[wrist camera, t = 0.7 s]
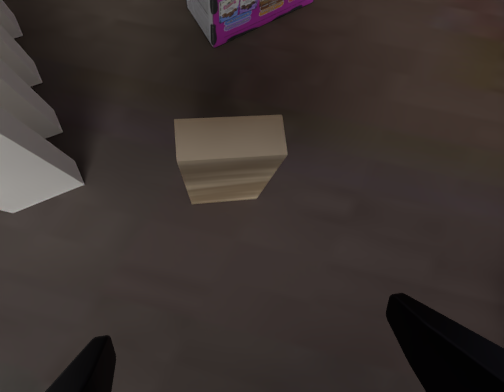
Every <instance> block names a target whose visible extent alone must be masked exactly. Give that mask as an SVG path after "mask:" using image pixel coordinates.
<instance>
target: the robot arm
mask: <svg viewBox="0 0 504 392" xmlns="http://www.w3.org/2000/svg"><path fill="white" fill-rule="evenodd" d="M386 317H387V320H388V322H389V324H390V326H391V328H392V330H393V332H394V334H395V336H396V338H397V340H398V342H399V344H400V346H401V348H402V350H403V352H404V354H405V356H406V358H407V360H408V362H409V364H410V366H411V367H412V369H413V371H414V372H415V374H416V376H417V377H418V379H419V381H420V382H421V384H422V386H423V387H424V389H425V390H426V392H504V348H502V347H500V346H498V345H497V344H495V343H493V342H491V341H489V340H487V339H486V338H484V337H482V336H480V335H478V334H477V333H475V332H473V331H471V330H469V329H468V328H466V327H464V326H462V325H460V324H458V323H457V322H455V321H453V320H451V319H449V318H448V317H446V316H444V315H442V314H440V313H439V312H437V311H435V310H433V309H431V308H429V307H428V306H426V305H424V304H422V303H420V302H419V301H417V300H415V299H413V298H411V297H410V296H408V295H406V294H404V293H397V294H392V295H391V296H390V297H389V301H388V305H387V310H386ZM115 363H116V354H115V351H114V347H113V344H112V340H111V338H110V336H108V335H105V336H98V337H95V338H93V339H92V340H91V341H90V342H89V343H88V344H87V346H86V347H85V348H84V349H83V350H82V351H81V352H80V353H79V354H78V356H77V357H76V358H75V359H74V360H73V361H72V362H71V363H70V365H69V366H68V367H67V368H66V369H65V370H64V371H63V372H62V373H61V375H60V376H59V377H58V378H57V379H56V380H55V381H54V382H53V384H52V385H51V386H50V387H49V388H48V389H47V390H46V391H45V392H111V390H112V384H113V377H114V370H115Z"/></svg>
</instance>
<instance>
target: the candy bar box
mask: <svg viewBox="0 0 504 392" xmlns="http://www.w3.org/2000/svg"><path fill="white" fill-rule="evenodd" d="M186 2H187V8H188V10H189V11H190V13H191V15H192V16H193V18H194V19H195V21H196V22H197V23H198V24H199V26H200V27H201V29H202V31H203V32H204V34H205V36H206V37H207V39H208V40H209V42H210V43H211V45H212V46H213V47H214V48H215V47H218V46H220V45H222V44H224V43H227V42H229V41H231V40H233V39H235V38H237V37H239V36H241V35H243V34H245V33H248V32H250V31H252V30H254V29H256V28H258V27H260V26H262V25H264V24H266V23H269V22H271V21H273V20H275V19H277V18H279V17H281V16H284V15H286V14H288V13H290V12H292V11H295V10H297V9H299V8H301V7H303V6H305V5H308V4H310V3H312V2H313V0H186Z"/></svg>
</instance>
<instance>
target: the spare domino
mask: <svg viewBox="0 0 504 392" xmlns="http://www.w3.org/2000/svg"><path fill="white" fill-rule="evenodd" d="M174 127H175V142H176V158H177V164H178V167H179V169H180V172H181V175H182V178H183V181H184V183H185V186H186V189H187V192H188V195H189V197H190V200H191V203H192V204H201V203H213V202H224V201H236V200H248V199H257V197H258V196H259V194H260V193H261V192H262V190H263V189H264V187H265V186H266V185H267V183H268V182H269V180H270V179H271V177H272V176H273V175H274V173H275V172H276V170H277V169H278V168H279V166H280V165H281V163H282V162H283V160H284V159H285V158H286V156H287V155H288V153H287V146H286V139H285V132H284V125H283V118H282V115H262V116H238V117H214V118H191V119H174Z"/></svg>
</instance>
